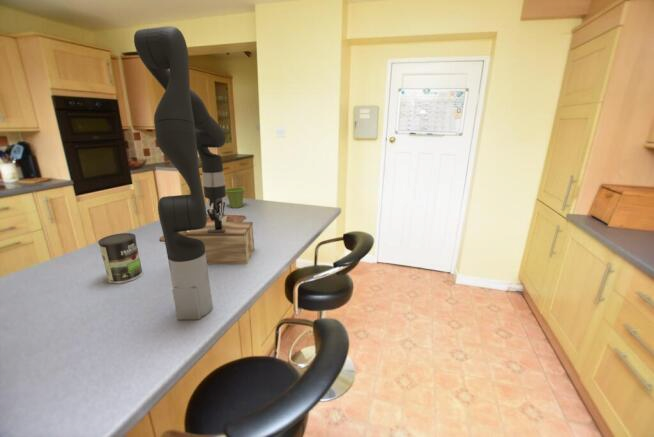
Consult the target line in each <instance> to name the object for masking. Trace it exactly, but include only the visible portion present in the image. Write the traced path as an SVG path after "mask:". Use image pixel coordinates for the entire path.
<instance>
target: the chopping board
mask: <svg viewBox="0 0 654 437" xmlns="http://www.w3.org/2000/svg"><path fill="white" fill-rule="evenodd" d="M246 219H247V218H246V215H243V214H239V213H237V214H236V213H224V216H222V219H221V220H222V222H244V221H245V220H246ZM207 222H214V221H213V220H211V218H210V216H209V214H208V213H207ZM188 232H189V231H182V232H179V233H180V234H182V235H184V236H186V234H187V233H188ZM186 237H187V236H186ZM159 242H162V243H163V244H164V245H165V239H164V235H162V236H161V237H159Z"/></svg>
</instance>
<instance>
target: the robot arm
mask: <svg viewBox="0 0 654 437" xmlns="http://www.w3.org/2000/svg"><path fill="white" fill-rule="evenodd" d="M133 43H134V48H135V51H136V53H137V55H138V57H139V58H140V60H141V62H142V63H143V65H144V66H145V68H146V69H147V70H148V71H149V73H150V74H151V75H152V76H153V77H154V79H155V80H156V81H157V82H158V83H159V85H160V86H161V87H162V88H163V89H164V90H165V91H164V93H163V95H162V97H161V98H160V100H159V103H158V105H157V107H156V110H155V112H154V116H153V121H154V123H153V124H154V132H155V140H156V144H157V146H158V148H159V150H160V151H161V153H162V154H163V156H165V157H166V158H167V159H168V160H169V162H170V163H171V164H172V165H173V166H174V167H175V169H176V170H177V171H178V172H179V174H180V175H181V176H182V178H183V179H184V181H185V183H186V185H187V187H188V189H189V194H180V195H170V196H169V195H168V196H167V195H166V196H163V197H161V198H159V200H158V203H157V215H158V219H159V221H160V226H161V230H162V236H164V239H165V242H164V243H165V244H164V245H165V249H166V257H167V260H168V266H169V272H170V279H171V284H172V285H171V286H172V296H173V301H174V307H175V313H176V319H177V320H183V321H184V320H201V319H202V318H203V317H204V316H206V315H208V314H209V313H210V312H211V311H212V309H213V307H214V306H213V299H212V298H213V297H212V293H211V291H212V290H211V283H210V277H209V268H208V264H207V259H206V252H205V245H204V243H203V242H202V241H201V240H199V239H195V238H190V237H186V236H184V235H182V234H180V233H179V232H182V231H190V230H198V229H203V228H205V226H206V223H207V214H209V216H210V218H211V220H213V221H214V222H215V230H219V229H222V220H221V219H222V216H224V214H225V207H226V202H225V201H223V198H225V197H226V196H227V194H226V189H227V188H226V179H225V174H224V164H223V158H222V156H221V155H219V154H216V153H213V152H211V151H210V149H209V148H213V149H214V148H222V147H223V146H225V144H226V140H227V137H226V136H227V135H226V133H225V130H224V129H223V128H222V126H221V125H220V124H219V123H218V122H217V121H216V120H215V119H214V118H213V117H212V115H210V112H209V111H208V109H207V107H206V105H205V103H204V101H203V99H201V97H200V96H199V94H197V93H196V91H193V89H192V88H190V87H191V86H190V59H189V51H188V45H187V42H186V38H185V37H184V34H183V33H182V31H181V30H180V29H179V28H178V27H175V26H172V25H171V26H160V27H159V26H158V27H150V28H142V29H138V30H136V31H135V33H134V35H133ZM198 157H199V158H198ZM199 159H200V164H201V172H202V178H201V174H200V173H201V172H200V166H199ZM201 179H202V180H201ZM205 199H209V203H208V206H209V208H206V202H205V201H206V200H205Z"/></svg>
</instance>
